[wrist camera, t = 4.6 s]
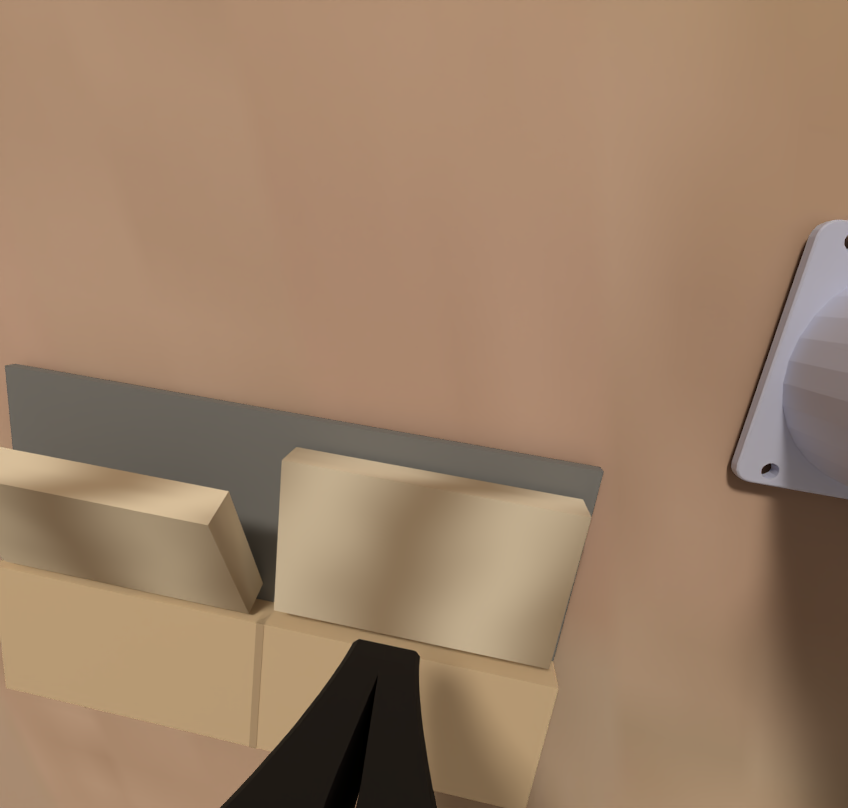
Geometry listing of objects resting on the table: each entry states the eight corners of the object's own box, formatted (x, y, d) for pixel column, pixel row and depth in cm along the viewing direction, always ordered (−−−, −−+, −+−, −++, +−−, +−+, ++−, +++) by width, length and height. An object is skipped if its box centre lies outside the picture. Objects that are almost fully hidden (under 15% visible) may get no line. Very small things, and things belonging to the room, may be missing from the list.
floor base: (600, 467, 15) (614, 487, 14) (517, 782, 19) (520, 826, 17) (15, 364, 17) (-32, 370, 15) (43, 670, 21) (7, 701, 19)
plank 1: (228, 491, 13) (207, 525, 13) (263, 583, 18) (248, 613, 17) (-68, 433, 14) (-108, 462, 13) (30, 534, 18) (5, 561, 17)
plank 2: (583, 499, 15) (591, 517, 14) (544, 642, 17) (549, 669, 16) (296, 446, 16) (281, 459, 15) (287, 588, 17) (273, 610, 16)
